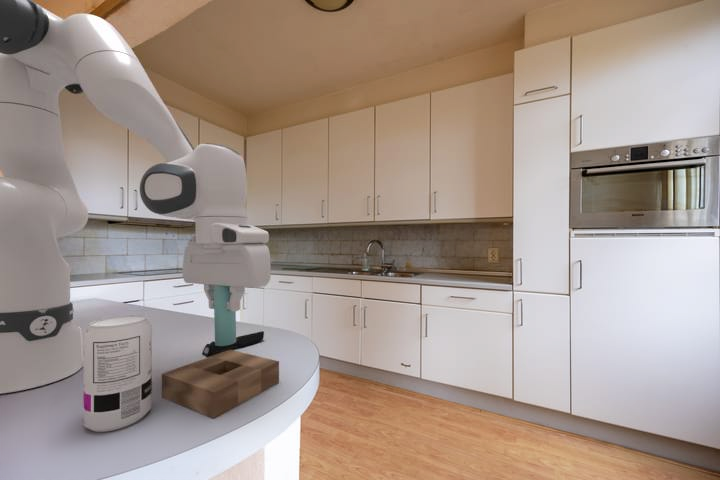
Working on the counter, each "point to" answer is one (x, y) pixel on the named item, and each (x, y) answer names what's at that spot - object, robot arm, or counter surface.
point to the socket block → (219, 381)
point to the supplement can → (117, 372)
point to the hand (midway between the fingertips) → (224, 309)
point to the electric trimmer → (240, 342)
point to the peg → (223, 317)
